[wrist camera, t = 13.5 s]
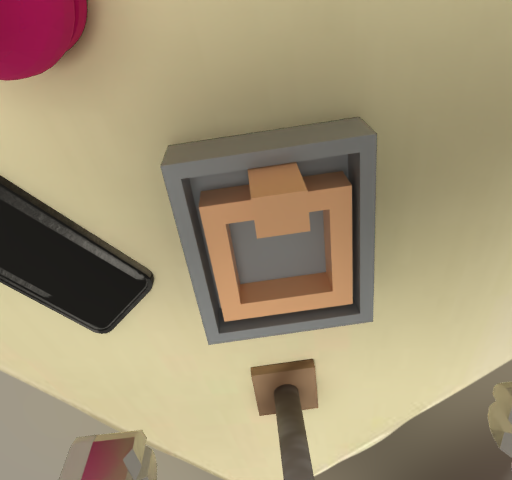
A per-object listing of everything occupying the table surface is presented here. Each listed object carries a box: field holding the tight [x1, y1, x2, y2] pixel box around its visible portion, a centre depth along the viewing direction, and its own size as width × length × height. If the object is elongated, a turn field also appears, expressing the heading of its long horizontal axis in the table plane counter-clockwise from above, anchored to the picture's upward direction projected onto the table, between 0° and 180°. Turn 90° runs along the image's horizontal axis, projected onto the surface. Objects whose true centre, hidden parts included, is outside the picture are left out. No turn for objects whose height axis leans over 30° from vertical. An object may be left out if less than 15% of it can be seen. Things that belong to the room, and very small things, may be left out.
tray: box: [161, 117, 377, 345], centre depth 30 cm, size 13×15×4 cm
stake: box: [251, 359, 318, 480], centre depth 36 cm, size 6×6×12 cm
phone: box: [0, 176, 154, 334], centre depth 32 cm, size 8×1×15 cm
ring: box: [199, 162, 353, 322], centre depth 28 cm, size 10×12×7 cm
